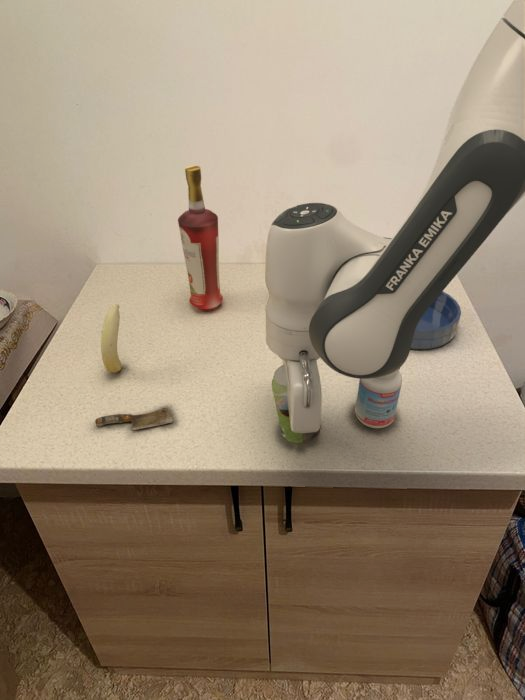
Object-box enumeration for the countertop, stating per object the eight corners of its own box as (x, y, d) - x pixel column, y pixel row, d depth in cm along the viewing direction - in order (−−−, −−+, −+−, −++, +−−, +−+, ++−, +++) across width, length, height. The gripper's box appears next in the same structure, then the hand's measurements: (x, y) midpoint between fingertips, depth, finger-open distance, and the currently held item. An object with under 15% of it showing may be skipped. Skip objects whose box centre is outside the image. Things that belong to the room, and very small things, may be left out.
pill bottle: (365, 433, 76) (374, 378, 69) (348, 406, 80) (355, 351, 73) (401, 425, 77) (414, 369, 70) (383, 398, 82) (393, 343, 75)
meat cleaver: (170, 433, 77) (176, 410, 81) (170, 427, 76) (175, 405, 80) (93, 430, 77) (103, 408, 81) (92, 425, 76) (101, 402, 80)
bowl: (439, 300, 104) (444, 281, 101) (468, 349, 91) (474, 329, 88) (361, 303, 103) (364, 284, 101) (379, 352, 91) (383, 332, 88)
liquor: (182, 303, 105) (163, 167, 87) (212, 291, 108) (199, 158, 91) (200, 318, 100) (184, 179, 83) (231, 306, 103) (222, 169, 86)
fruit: (95, 380, 84) (110, 384, 83) (98, 312, 79) (114, 316, 79) (111, 366, 89) (125, 370, 89) (115, 302, 84) (129, 306, 84)
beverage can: (321, 448, 74) (327, 388, 66) (271, 448, 74) (271, 388, 66) (319, 417, 79) (323, 357, 71) (271, 417, 79) (271, 357, 71)
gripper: (337, 383, 57) (329, 462, 65) (314, 287, 72) (310, 361, 81) (281, 385, 56) (280, 464, 65) (270, 289, 72) (271, 362, 81)
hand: (296, 406), depth 73 cm, fingers closed on beverage can, 5 cm apart
